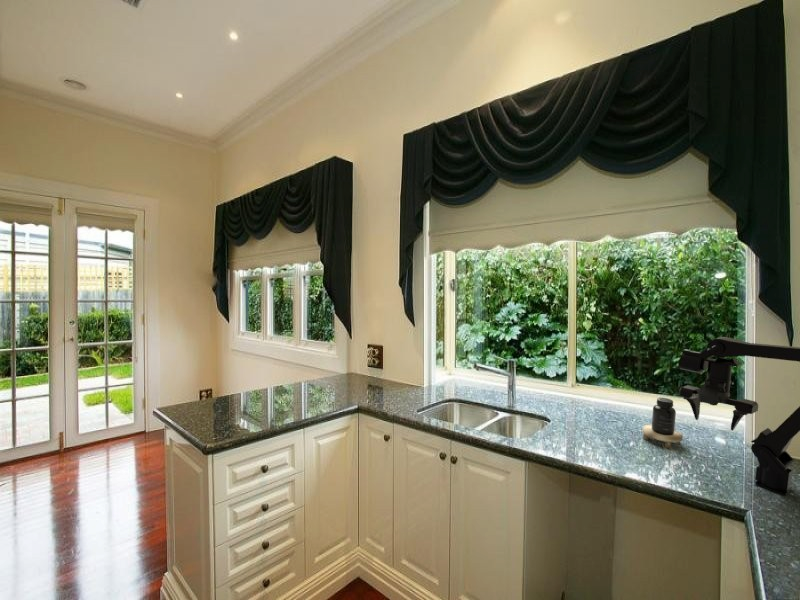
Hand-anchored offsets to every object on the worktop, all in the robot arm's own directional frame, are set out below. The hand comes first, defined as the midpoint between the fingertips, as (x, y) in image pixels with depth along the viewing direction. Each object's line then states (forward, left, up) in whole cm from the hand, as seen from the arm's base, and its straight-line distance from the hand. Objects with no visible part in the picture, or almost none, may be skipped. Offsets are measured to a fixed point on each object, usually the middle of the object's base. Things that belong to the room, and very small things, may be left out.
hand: (713, 424), depth 122 cm
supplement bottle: (+16, -4, -10) cm, 19 cm away
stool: (+16, -4, -13) cm, 21 cm away
